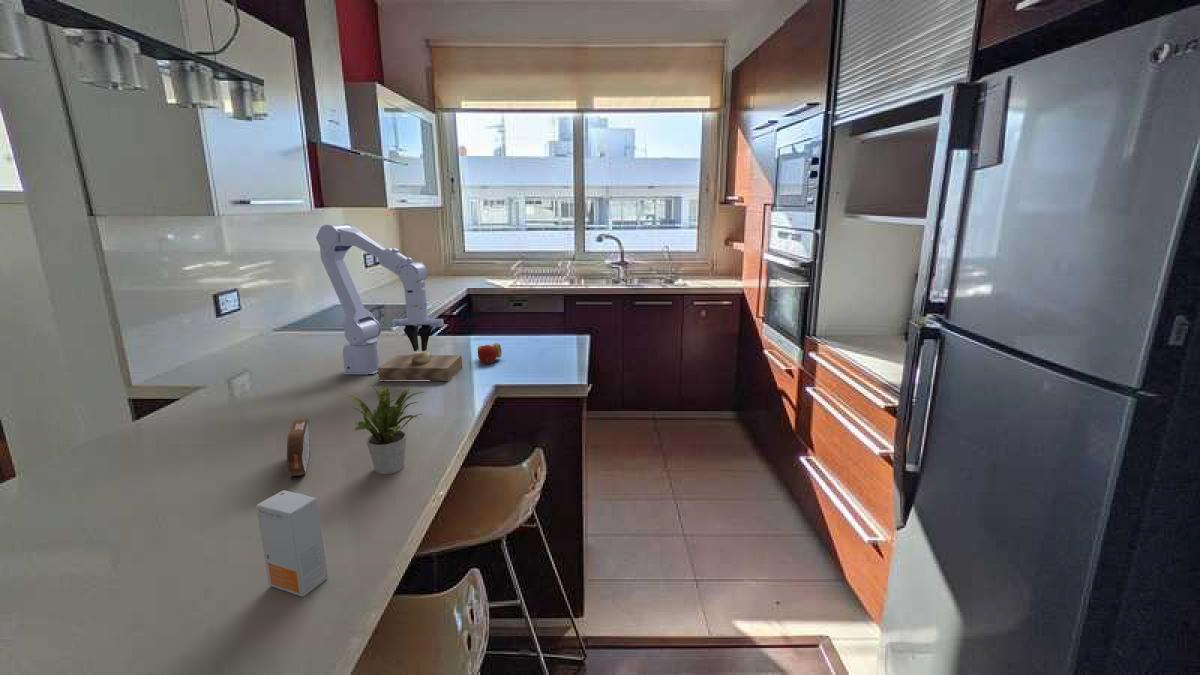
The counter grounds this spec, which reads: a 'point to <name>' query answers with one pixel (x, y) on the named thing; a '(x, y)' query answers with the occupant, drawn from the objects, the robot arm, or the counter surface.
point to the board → (421, 368)
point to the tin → (298, 447)
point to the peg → (420, 357)
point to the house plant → (386, 431)
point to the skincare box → (292, 542)
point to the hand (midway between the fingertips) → (420, 350)
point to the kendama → (489, 353)
